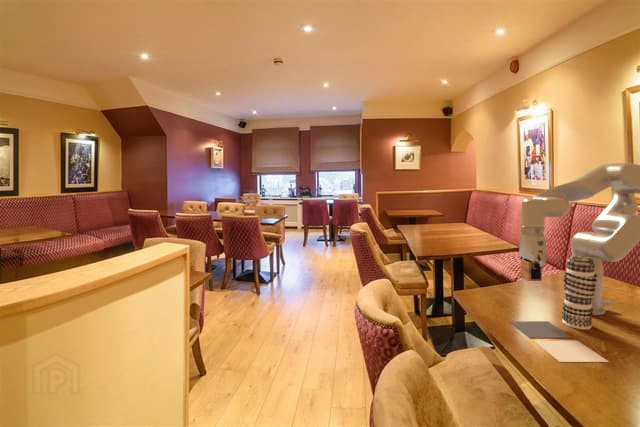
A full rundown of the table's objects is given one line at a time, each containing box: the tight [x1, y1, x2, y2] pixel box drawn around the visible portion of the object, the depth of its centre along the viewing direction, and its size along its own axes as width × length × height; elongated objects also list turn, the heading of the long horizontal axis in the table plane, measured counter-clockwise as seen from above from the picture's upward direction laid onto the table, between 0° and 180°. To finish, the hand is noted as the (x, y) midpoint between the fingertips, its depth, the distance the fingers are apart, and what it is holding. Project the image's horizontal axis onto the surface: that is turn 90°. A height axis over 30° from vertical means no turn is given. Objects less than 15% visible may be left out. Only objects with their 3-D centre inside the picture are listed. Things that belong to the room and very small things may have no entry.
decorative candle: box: [561, 256, 597, 330], centre depth 114 cm, size 9×9×25 cm
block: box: [519, 259, 543, 282], centre depth 123 cm, size 5×5×7 cm
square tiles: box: [509, 320, 610, 363], centre depth 105 cm, size 14×26×1 cm, turn 178°
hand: (530, 276), depth 123 cm, fingers closed on block, 5 cm apart
